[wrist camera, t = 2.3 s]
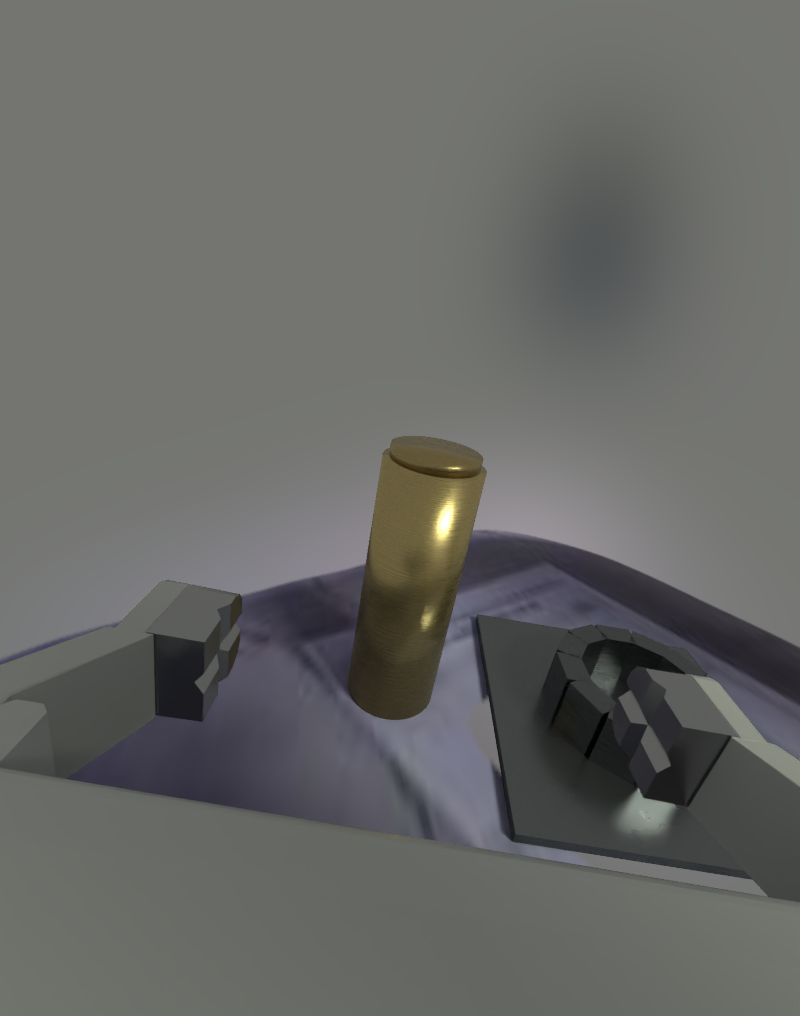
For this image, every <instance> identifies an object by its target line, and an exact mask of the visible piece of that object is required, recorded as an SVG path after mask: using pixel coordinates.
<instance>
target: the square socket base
mask: <svg viewBox="0 0 800 1016" xmlns="http://www.w3.org/2000/svg"><path fill="white" fill-rule="evenodd" d="M476 623H477V629H478V635H479V641H480V647H481V653H482V659H483V665H484V671H485V677H486V684H487V690H488V696H489V702H490V707H491V714H492V720H493V726H494V732H495V738H496V744H497V750H498V756H499V762H500V768H501V774H502V780H503V787H504V793H505V799H506V805H507V811H508V817H509V823H510V829H511V835H512V841H513V842H519V843H525V844H531V845H538V846H544V847H550V848H557V849H563V850H569V851H576V852H582V853H589V854H595V855H601V856H607V857H613V858H620V859H626V860H632V861H639V862H645V863H652V864H658V865H664V866H670V867H676V868H683V869H689V870H696V871H702V872H708V873H714V874H721V875H728V876H733V877H740V878H746V879H752V878H751V877H750V876H749V875H748V874H747V873H746V872H745V871H744V870H743V869H742V868H741V867H740V865H739V864H738V863H737V862H736V861H735V860H734V859H733V858H732V857H731V856H730V855H729V854H728V853H727V851H726V850H725V849H724V848H723V847H722V846H721V845H720V844H719V843H718V842H717V841H716V840H715V839H714V837H713V836H712V835H711V834H710V833H709V832H708V831H707V830H706V829H705V828H704V827H703V826H702V825H701V824H700V822H699V821H698V820H697V819H696V818H695V817H694V816H693V815H692V814H691V813H690V812H689V811H688V810H687V808H688V807H685V806H681V805H676V804H671V803H666V802H661V801H656V800H651V799H646V798H643V797H642V794H641V792H640V790H639V788H638V786H637V784H636V781H635V779H634V777H633V775H632V773H631V771H630V768H629V763H630V760H631V756H629V755H628V754H627V753H626V752H625V751H624V750H623V749H622V748H621V747H620V746H619V744H618V742H617V740H616V737H615V735H614V730H613V725H612V721H613V710H614V707H615V705H616V702H617V700H618V698H619V697H620V696H622V695H624V694H625V693H627V692H628V691H630V690H629V688H628V685H627V682H626V681H627V679H628V677H629V675H630V673H631V671H632V670H633V669H635V668H636V667H637V666H638V667H644V668H650V669H655V670H661V671H667V672H673V673H679V674H690V675H696V676H703V677H707V676H706V675H707V673H705V672H704V671H703V670H702V669H701V668H700V667H699V665H698V664H697V663H696V661H695V660H694V659H693V658H692V656H691V655H690V654H689V652H688V651H687V650H686V649H682V648H676V647H670V646H665V645H663V644H661V643H659V642H656V641H654V640H652V639H649V638H647V637H645V636H642V635H640V634H638V633H635V632H632V634H631V633H630V632H629V630H625V629H619V628H613V627H607V626H601V625H595V626H593V625H588V626H584V627H580V628H576V629H572V630H568V629H562V628H556V627H550V626H544V625H538V624H532V623H526V622H520V621H514V620H508V619H502V618H496V617H490V616H484V615H478V614H477V618H476ZM710 678H711V677H710ZM752 880H753V879H752Z"/></svg>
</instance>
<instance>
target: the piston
mask: <svg viewBox="0 0 800 1016" xmlns="http://www.w3.org/2000/svg"><path fill="white" fill-rule="evenodd" d="M482 462H483V457H482V456H481V455H480V454H479V453H478V452H476V451H475V450H473V449H471V448H469V447H466V446H463V445H461V444H458V443H455V442H451V441H447V440H443V439H437V438H431V437H423V436H403V437H398V438H395V439H393V440H392V441H391V446H390V448H388V449H386V450H385V451H384V452H383V456H382V463H381V469H380V475H379V482H378V488H377V495H376V501H375V508H374V514H373V521H372V527H371V534H370V540H369V547H368V553H367V560H366V566H365V573H364V579H363V586H362V592H361V599H360V605H359V612H358V618H357V625H356V631H355V638H354V644H353V651H352V657H351V664H350V670H349V677H348V689H349V692H350V695H351V697H352V698H353V700H354V701H355V702H356V704H357V705H359V706H360V707H361V708H362V709H363V710H365V711H366V712H368V713H370V714H372V715H374V716H377V717H380V718H384V719H391V720H400V719H407V718H410V717H413V716H415V715H417V714H419V713H420V712H422V711H423V710H424V709H425V708H426V707H427V705H428V704H429V702H430V699H431V695H432V691H433V687H434V683H435V679H436V675H437V671H438V667H439V663H440V659H441V655H442V650H443V646H444V642H445V638H446V634H447V630H448V626H449V622H450V618H451V614H452V610H453V606H454V602H455V598H456V594H457V590H458V586H459V582H460V578H461V574H462V570H463V566H464V562H465V558H466V554H467V550H468V546H469V542H470V538H471V534H472V530H473V526H474V522H475V518H476V513H477V509H478V505H479V502H480V498H481V494H482V489H483V485H484V481H485V477H486V473H487V472H486V469H485V468H484V467H483V466H482Z"/></svg>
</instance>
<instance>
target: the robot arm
mask: <svg viewBox="0 0 800 1016" xmlns="http://www.w3.org/2000/svg"><path fill="white" fill-rule="evenodd" d="M241 613H242V598H241V596H240V594H236V593H231V592H226V591H221V590H216V589H211V588H206V587H201V586H196V585H190V584H186V583H180V582H175V581H169V580H166V581H162V582H160V583H159V584H158V585H157V586H156V587H155V588H154V589H153V590H152V591H151V592H150V593H149V594H148V595H147V596H146V597H145V598H144V599H143V600H142V601H141V602H140V603H139V604H138V605H137V606H136V607H135V608H134V609H133V610H132V611H131V612H130V613H129V614H128V615H127V616H126V617H125V618H124V619H123V620H122V621H121V622H120V623H119V624H118V625H117V626H116V627H109V626H106V627H103V628H101V629H98V630H95V631H92V632H90V633H87V634H84V635H81V636H79V637H76V638H73V639H70V640H68V641H65V642H62V643H59V644H56V645H54V646H51V647H48V648H45V649H43V650H40V651H37V652H34V653H32V654H29V655H26V656H23V657H21V658H18V659H15V660H12V661H10V662H7V663H4V664H1V665H0V1016H800V761H799V760H797V759H796V758H794V757H793V756H792V755H790V754H789V753H787V752H786V751H784V750H783V749H781V748H780V747H778V746H777V745H775V744H770V743H767V742H766V741H765V739H764V738H763V737H762V736H761V734H760V733H759V732H758V731H757V730H756V728H755V727H754V726H753V725H752V723H751V722H750V721H749V720H748V718H747V717H746V716H745V715H744V714H743V712H742V711H741V710H740V709H739V707H738V706H737V705H736V704H735V703H734V701H733V700H732V699H731V698H730V696H729V695H728V694H727V693H726V691H725V690H724V689H723V688H722V687H721V685H720V684H719V683H718V682H717V681H715V680H713V679H712V678H710V677H703V676H696V675H690V674H679V673H673V672H667V671H661V670H655V669H650V668H644V667H638V666H637V667H636V668H635V669H633V670H632V671H631V673H630V675H629V677H628V679H627V681H626V682H627V685H628V688H629V690H630V691H628V692H627V693H625V694H624V695H622V696H620V697H619V698H618V700H617V702H616V705H615V707H614V710H613V721H612V725H613V730H614V735H615V737H616V740H617V742H618V744H619V746H620V747H621V748H622V749H623V750H624V751H625V752H626V753H627V754H628V755H629V756H631V760H630V763H629V768H630V771H631V773H632V775H633V777H634V779H635V781H636V784H637V786H638V788H639V790H640V792H641V794H642V797H643V798H646V799H651V800H656V801H661V802H666V803H671V804H676V805H681V806H685V807H688V808H687V810H688V811H689V812H690V813H691V814H692V815H693V816H694V817H695V818H696V819H697V820H698V821H699V822H700V824H701V825H702V826H703V827H704V828H705V829H706V830H707V831H708V832H709V833H710V834H711V835H712V836H713V837H714V839H715V840H716V841H717V842H718V843H719V844H720V845H721V846H722V847H723V848H724V849H725V850H726V851H727V853H728V854H729V855H730V856H731V857H732V858H733V859H734V860H735V861H736V862H737V863H738V864H739V865H740V867H741V868H742V869H743V870H744V871H745V872H746V873H747V874H748V875H749V876H750V877H751V878H752V879H753V880H754V882H755V883H756V884H757V885H758V886H759V887H760V888H761V889H762V890H763V891H764V892H765V893H766V894H767V896H768V897H765V896H759V895H753V894H748V893H742V892H735V891H730V890H724V889H717V888H711V887H706V886H700V885H694V884H688V883H682V882H676V881H670V880H664V879H658V878H653V877H647V876H641V875H635V874H629V873H623V872H617V871H611V870H605V869H599V868H593V867H587V866H582V865H576V864H570V863H564V862H558V861H552V860H546V859H540V858H534V857H528V856H522V855H516V854H510V853H504V852H498V851H492V850H486V849H481V848H475V847H469V846H463V845H457V844H451V843H445V842H439V841H433V840H427V839H421V838H415V837H409V836H403V835H397V834H391V833H385V832H379V831H373V830H367V829H361V828H355V827H349V826H343V825H338V824H332V823H326V822H320V821H314V820H308V819H302V818H296V817H290V816H284V815H278V814H272V813H266V812H260V811H254V810H248V809H242V808H236V807H230V806H224V805H218V804H213V803H207V802H201V801H195V800H189V799H183V798H177V797H171V796H165V795H159V794H153V793H147V792H141V791H135V790H129V789H123V788H117V787H111V786H105V785H99V784H93V783H88V782H82V781H76V780H70V779H66V778H68V777H69V776H71V775H72V774H74V773H75V772H77V771H78V770H80V769H81V768H83V767H84V766H86V765H87V764H88V763H90V762H91V761H93V760H94V759H96V758H97V757H99V756H100V755H102V754H103V753H105V752H106V751H108V750H109V749H110V748H112V747H113V746H115V745H116V744H118V743H119V742H121V741H122V740H124V739H125V738H127V737H128V736H130V735H131V734H132V733H134V732H135V731H137V730H138V729H140V728H141V727H143V726H144V725H146V724H147V723H149V722H150V721H152V720H153V719H154V718H155V715H158V716H165V717H172V718H179V719H186V720H193V721H200V722H203V720H204V718H205V717H206V715H207V713H208V711H209V709H210V708H211V706H212V704H213V702H214V700H215V699H216V697H217V695H218V682H220V681H221V680H223V679H225V678H227V676H228V675H229V673H230V671H231V669H232V667H233V664H234V661H235V658H236V655H237V652H238V647H239V642H240V631H241V630H240V629H239V627H238V626H237V625H236V621H237V619H238V618H239V616H240V614H241Z"/></svg>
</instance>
